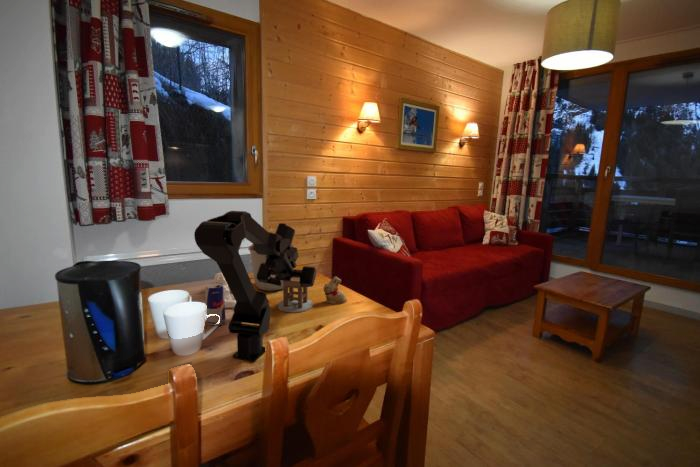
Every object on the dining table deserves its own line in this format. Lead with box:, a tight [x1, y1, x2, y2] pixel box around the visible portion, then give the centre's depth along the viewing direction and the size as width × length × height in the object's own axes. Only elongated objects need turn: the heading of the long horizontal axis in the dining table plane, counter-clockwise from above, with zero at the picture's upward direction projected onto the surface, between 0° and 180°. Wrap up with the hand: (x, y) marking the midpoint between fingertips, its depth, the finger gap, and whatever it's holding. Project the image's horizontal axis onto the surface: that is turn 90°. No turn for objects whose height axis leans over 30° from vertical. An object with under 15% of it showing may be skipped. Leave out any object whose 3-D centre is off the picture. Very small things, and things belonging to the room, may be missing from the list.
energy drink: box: [204, 282, 227, 326], centre depth 102 cm, size 5×5×12 cm
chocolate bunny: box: [323, 275, 348, 305], centre depth 121 cm, size 6×8×10 cm
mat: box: [277, 298, 314, 314], centre depth 117 cm, size 12×12×1 cm
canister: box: [247, 243, 296, 292], centre depth 133 cm, size 18×18×21 cm
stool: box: [282, 277, 308, 308], centre depth 116 cm, size 6×6×10 cm
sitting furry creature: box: [214, 271, 236, 309], centre depth 115 cm, size 10×9×12 cm
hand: (293, 286), depth 114 cm, fingers open, 9 cm apart
